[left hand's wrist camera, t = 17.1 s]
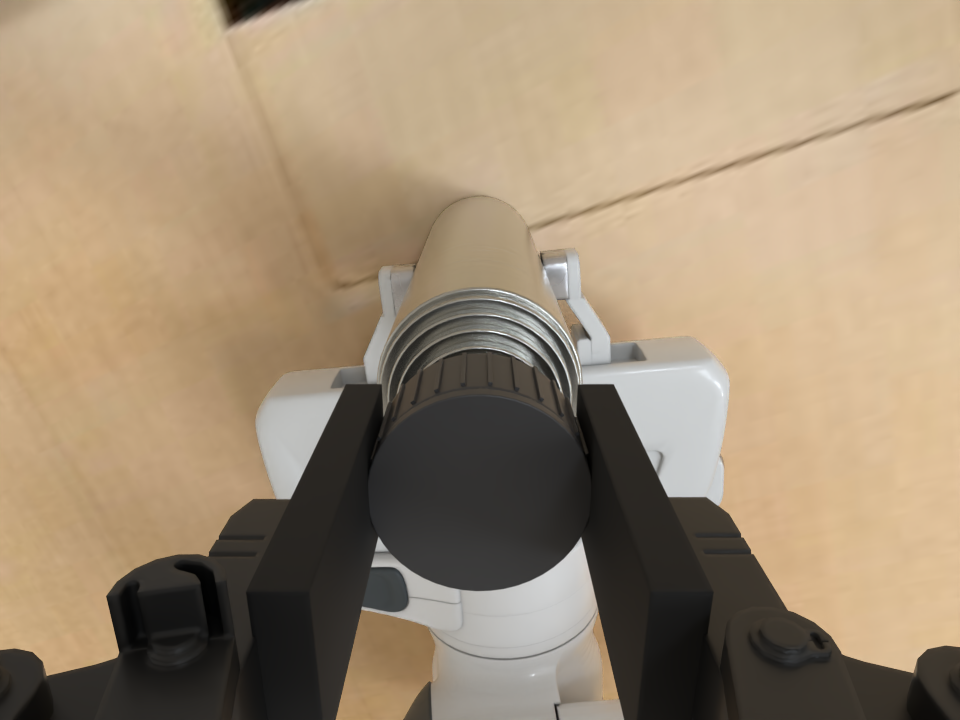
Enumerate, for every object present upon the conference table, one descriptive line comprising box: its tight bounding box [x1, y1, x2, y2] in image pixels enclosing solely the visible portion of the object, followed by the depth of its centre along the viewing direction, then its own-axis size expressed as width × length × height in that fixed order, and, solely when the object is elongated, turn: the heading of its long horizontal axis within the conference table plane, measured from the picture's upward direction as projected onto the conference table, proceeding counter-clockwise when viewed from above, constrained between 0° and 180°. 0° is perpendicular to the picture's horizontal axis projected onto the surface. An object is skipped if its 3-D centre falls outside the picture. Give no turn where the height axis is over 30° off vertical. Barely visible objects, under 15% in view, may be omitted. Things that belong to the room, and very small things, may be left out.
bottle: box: [377, 196, 583, 417], centre depth 24 cm, size 5×5×23 cm
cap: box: [368, 352, 592, 591], centre depth 14 cm, size 4×4×2 cm
